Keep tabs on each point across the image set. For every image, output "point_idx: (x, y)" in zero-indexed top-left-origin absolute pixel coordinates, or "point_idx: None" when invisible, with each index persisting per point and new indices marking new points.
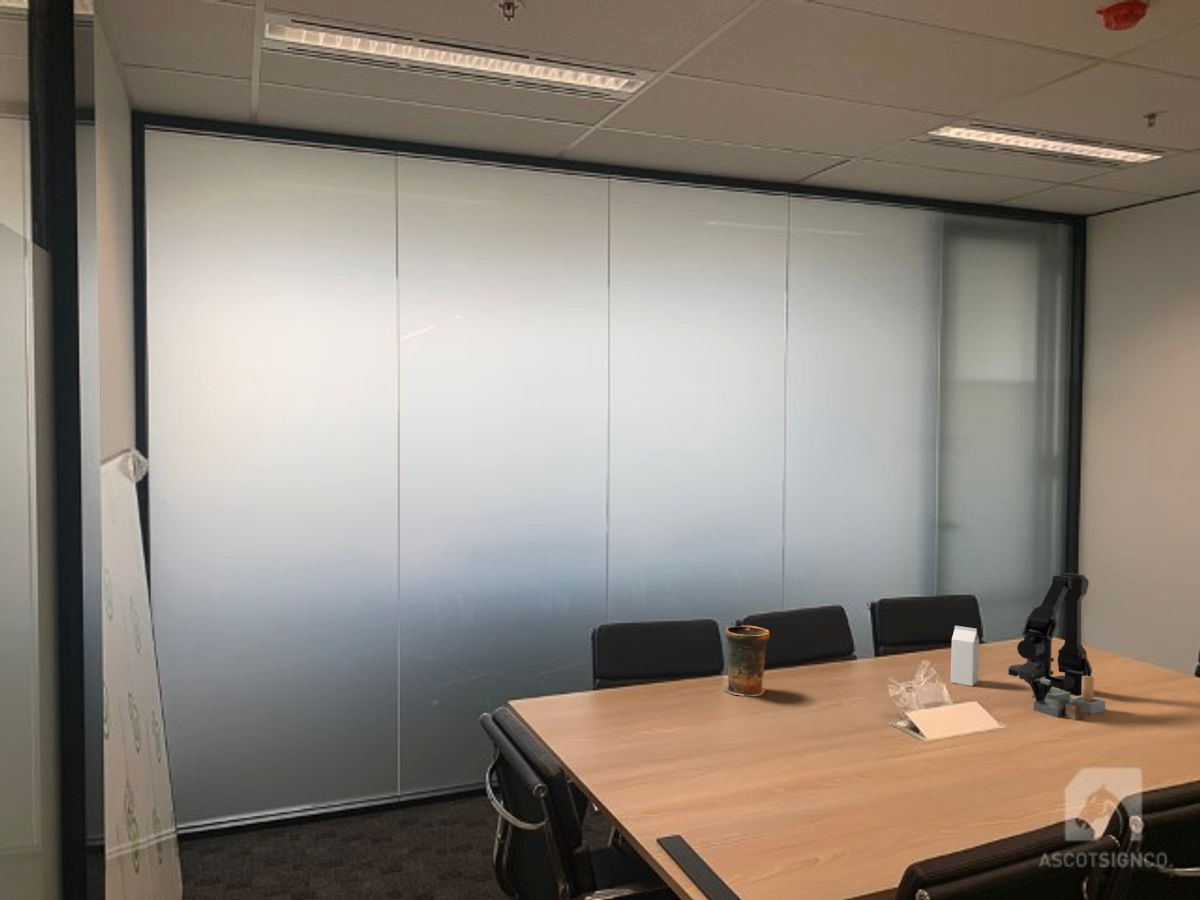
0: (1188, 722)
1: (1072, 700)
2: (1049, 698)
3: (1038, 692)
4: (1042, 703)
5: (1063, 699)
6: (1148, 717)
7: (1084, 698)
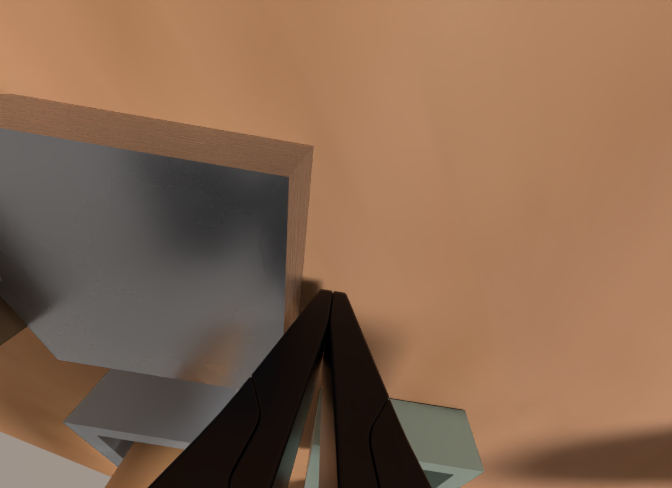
0: (17, 437)
1: (198, 428)
2: None
3: (293, 415)
4: (167, 200)
5: (312, 434)
6: (64, 424)
7: (139, 462)
